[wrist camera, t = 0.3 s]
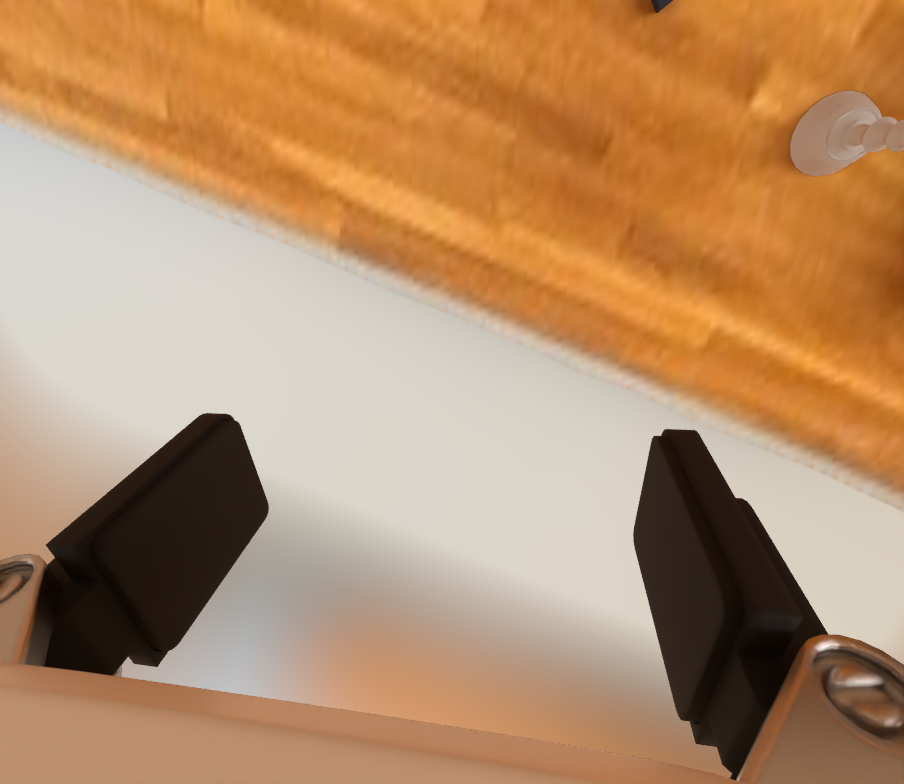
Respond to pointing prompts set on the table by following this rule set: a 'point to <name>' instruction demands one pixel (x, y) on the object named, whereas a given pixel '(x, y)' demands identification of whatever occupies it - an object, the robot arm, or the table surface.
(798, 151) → the chalice
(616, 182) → the table surface
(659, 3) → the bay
